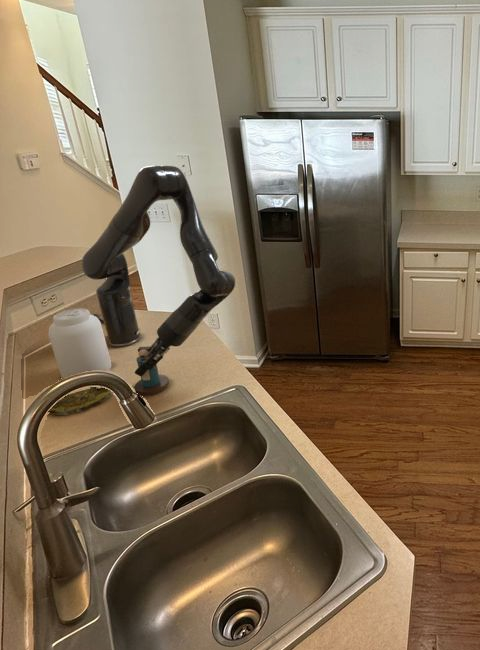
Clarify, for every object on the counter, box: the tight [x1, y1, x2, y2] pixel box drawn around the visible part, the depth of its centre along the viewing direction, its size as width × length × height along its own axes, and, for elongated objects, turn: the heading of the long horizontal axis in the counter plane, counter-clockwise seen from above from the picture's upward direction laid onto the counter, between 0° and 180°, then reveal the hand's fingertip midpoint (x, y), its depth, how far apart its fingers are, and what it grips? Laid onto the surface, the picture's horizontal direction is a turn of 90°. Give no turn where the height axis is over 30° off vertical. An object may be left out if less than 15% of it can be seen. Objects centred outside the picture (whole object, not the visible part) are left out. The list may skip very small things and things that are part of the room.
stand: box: [133, 374, 170, 397], centre depth 124 cm, size 9×9×2 cm
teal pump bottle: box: [136, 346, 160, 387], centre depth 122 cm, size 4×4×11 cm
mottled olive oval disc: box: [47, 386, 114, 416], centre depth 117 cm, size 9×5×15 cm
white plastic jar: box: [47, 307, 112, 379], centre depth 127 cm, size 12×12×20 cm
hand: (140, 369), depth 122 cm, fingers closed on teal pump bottle, 4 cm apart
